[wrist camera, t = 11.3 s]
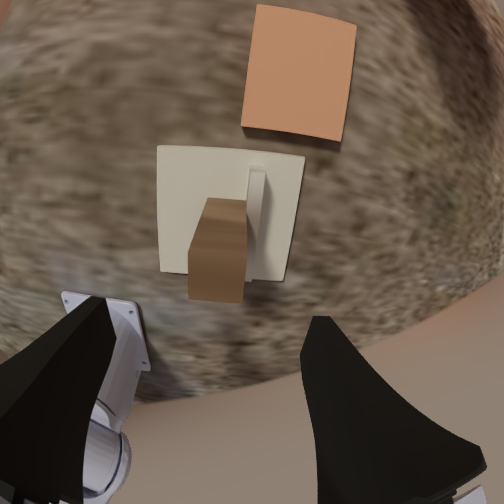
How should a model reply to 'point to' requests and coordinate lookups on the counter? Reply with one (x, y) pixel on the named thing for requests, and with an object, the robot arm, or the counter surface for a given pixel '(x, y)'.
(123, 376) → the robot arm
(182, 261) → the mat
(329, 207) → the counter surface
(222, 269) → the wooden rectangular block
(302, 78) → the tile
